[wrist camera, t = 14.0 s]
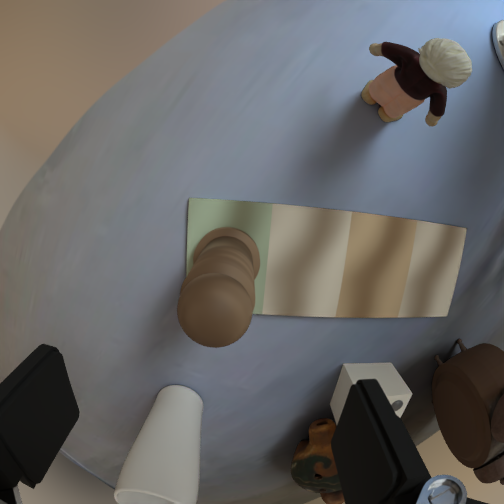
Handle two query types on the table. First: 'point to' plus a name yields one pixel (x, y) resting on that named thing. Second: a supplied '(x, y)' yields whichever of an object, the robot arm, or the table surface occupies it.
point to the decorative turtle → (318, 463)
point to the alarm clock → (473, 408)
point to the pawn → (220, 288)
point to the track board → (339, 259)
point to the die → (380, 371)
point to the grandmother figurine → (417, 78)
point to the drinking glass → (165, 452)
